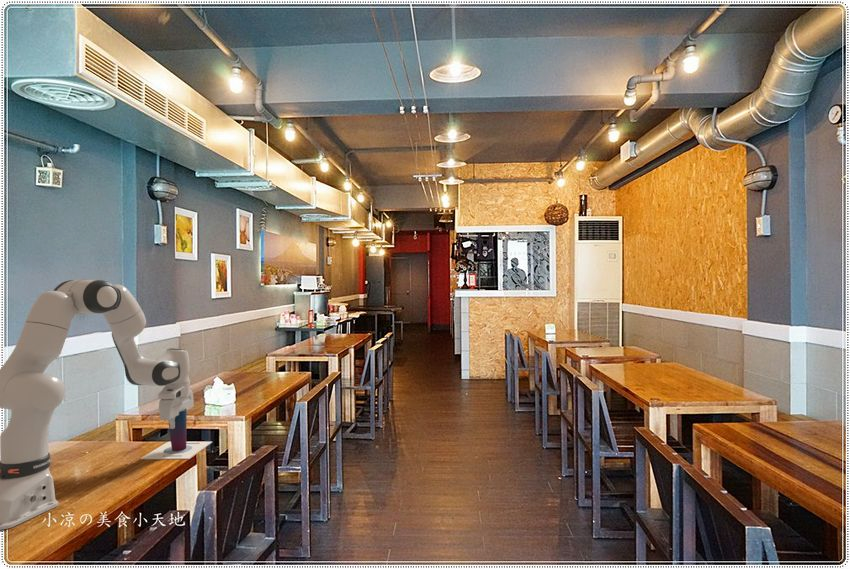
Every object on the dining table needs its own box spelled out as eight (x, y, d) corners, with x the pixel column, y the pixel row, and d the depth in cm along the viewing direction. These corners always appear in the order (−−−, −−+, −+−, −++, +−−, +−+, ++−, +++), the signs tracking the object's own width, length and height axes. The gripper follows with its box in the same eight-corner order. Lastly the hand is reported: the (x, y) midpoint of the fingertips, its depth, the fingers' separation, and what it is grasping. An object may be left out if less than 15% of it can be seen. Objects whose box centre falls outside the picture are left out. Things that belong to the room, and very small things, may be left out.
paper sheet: (189, 459, 190) (189, 458, 190) (140, 459, 190) (140, 458, 190) (212, 442, 210) (212, 441, 210) (168, 442, 210) (168, 441, 210)
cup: (169, 448, 201) (167, 410, 201) (188, 445, 204) (186, 407, 204) (169, 453, 195) (167, 413, 195) (189, 449, 198) (187, 410, 198)
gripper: (182, 384, 210) (182, 418, 210) (155, 395, 190) (155, 433, 190) (197, 384, 210) (198, 418, 210) (172, 395, 190) (172, 433, 190)
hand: (177, 425), depth 200 cm, fingers closed on cup, 6 cm apart
